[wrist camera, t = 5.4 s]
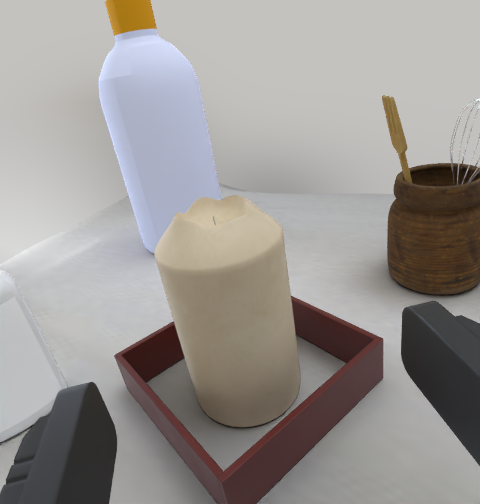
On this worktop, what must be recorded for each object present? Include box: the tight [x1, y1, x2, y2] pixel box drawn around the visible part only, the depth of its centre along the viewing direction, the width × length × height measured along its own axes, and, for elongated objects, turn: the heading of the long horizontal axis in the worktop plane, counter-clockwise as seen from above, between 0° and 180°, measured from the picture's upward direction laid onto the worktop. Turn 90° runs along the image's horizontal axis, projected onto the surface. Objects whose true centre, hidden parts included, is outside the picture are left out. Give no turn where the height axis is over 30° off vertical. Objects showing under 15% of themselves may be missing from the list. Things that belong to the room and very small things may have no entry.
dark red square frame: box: [114, 296, 383, 504], centre depth 19 cm, size 10×10×2 cm
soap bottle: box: [98, 0, 222, 253], centre depth 34 cm, size 9×9×24 cm
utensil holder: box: [382, 95, 480, 295], centre depth 24 cm, size 6×6×12 cm
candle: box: [154, 196, 300, 427], centre depth 18 cm, size 6×6×10 cm
